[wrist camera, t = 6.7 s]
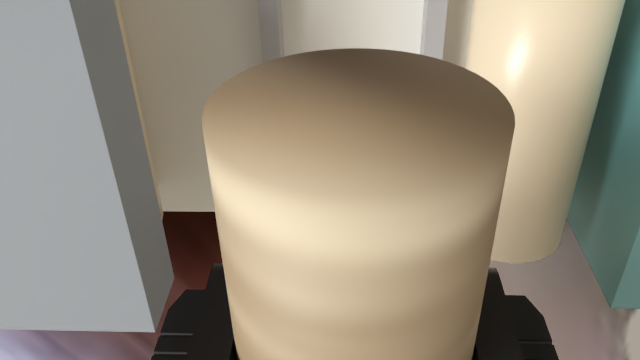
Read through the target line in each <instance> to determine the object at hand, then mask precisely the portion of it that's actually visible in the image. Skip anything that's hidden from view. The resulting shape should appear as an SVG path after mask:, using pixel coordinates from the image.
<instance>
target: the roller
mask: <svg viewBox="0 0 640 360" xmlns="http://www.w3.org/2000/svg"><path fill="white" fill-rule="evenodd" d="M202 129H203V135H204V142H205V148H206V155H207V162H208V168H209V175H210V182H211V188H212V195H213V202H214V208H215V215H216V222H217V228H218V235H219V241H220V248H221V255H222V261H223V268H224V275H225V281H226V288H227V295H228V301H229V308H230V315H231V321H232V328H233V334H234V341H235V348H236V354H237V360H472V356H473V351H474V346H475V340H476V335H477V329H478V324H479V318H480V313H481V308H482V302H483V297H484V291H485V286H486V280H487V275H488V270H489V264H490V259H491V253H492V248H493V243H494V237H495V232H496V226H497V221H498V215H499V210H500V205H501V199H502V194H503V188H504V183H505V177H506V172H507V167H508V161H509V156H510V150H511V145H512V140H513V134H514V129H515V114H514V112H513V109H512V106H511V104H510V103H509V101H508V100H507V98H506V97H505V95H504V94H503V93H502V92H501V91H500V90H499V89H498V88H497V87H495V86H494V85H493V84H492V83H490V82H489V81H488V80H486V79H484V78H483V77H481V76H479V75H478V74H476V73H474V72H472V71H470V70H468V69H466V68H463V67H461V66H458V65H456V64H453V63H450V62H447V61H444V60H440V59H437V58H433V57H429V56H425V55H420V54H415V53H409V52H403V51H395V50H385V49H370V48H346V49H329V50H318V51H311V52H304V53H299V54H294V55H289V56H285V57H281V58H277V59H273V60H270V61H267V62H264V63H261V64H259V65H256V66H254V67H251V68H249V69H247V70H245V71H243V72H241V73H239V74H237V75H235V76H234V77H232V78H231V79H229V80H227V81H226V82H225V83H224V84H222V85H221V86H220V87H219V88H218V89H217V90H216V91H215V92H214V93H213V94H212V95H211V96H210V98H209V99H208V101H207V103H206V105H205V107H204V110H203V114H202Z"/></svg>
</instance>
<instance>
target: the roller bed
mask: <svg viewBox="0 0 640 360" xmlns="http://www.w3.org/2000/svg"><path fill="white" fill-rule="evenodd" d="M114 1H115V6H116V11H117V15H118V20H119V24H120V29H121V34H122V38H123V43H124V48H125V52H126V57H127V61H128V66H129V71H130V75H131V80H132V85H133V89H134V94H135V98H136V103H137V108H138V112H139V117H140V121H141V126H142V131H143V135H144V140H145V145H146V149H147V154H148V158H149V163H150V168H151V172H152V177H153V182H154V186H155V191H156V195H157V200H158V205H159V209H160V214H161V218H162V219H163V211H188V212H215V208H214V202H213V195H212V188H211V182H210V175H209V168H208V162H207V155H206V148H205V142H204V135H203V129H202V114H203V110H204V107H205V105H206V103H207V101H208V99H209V98H210V96H211V95H212V94H213V93H214V92H215V91H216V90H217V89H218V88H219V87H220V86H221V85H222V84H224V83H225V82H226V81H227V80H229V79H231V78H232V77H234V76H235V75H237V74H239V73H241V72H243V71H245V70H247V69H249V68H251V67H254V66H256V65H259V64H261V63H264V62H267V61H270V60H273V59H277V58H281V57H285V56H289V55H294V54H299V53H304V52H311V51H318V50H329V49H346V48H370V49H385V50H395V51H403V52H409V53H415V54H420V55H425V56H429V57H433V58H437V59H440V60H444V61H447V62H450V63H453V64H456V65H458V66H461V67H463V68H466V69H468V70H470V71H472V72H474V73H476V74H478V75H479V76H481V77H483V78H484V79H486V80H488V81H489V82H490V83H492V84H493V85H494V86H495V87H497V88H498V89H499V90H500V91H501V92H502V93H503V94H504V95H505V97H506V98H507V100H508V101H509V103H510V104H511V106H512V109H513V112H514V114H515V129H514V134H513V140H512V145H511V150H510V156H509V161H508V167H507V172H506V177H505V183H504V188H503V194H502V199H501V205H500V210H499V215H498V221H497V226H496V232H495V237H494V243H493V248H492V253H491V259H490V260H494V261H498V262H505V263H528V262H533V261H538V260H540V259H543V258H545V257H547V256H549V255H551V254H552V253H553V252H554V251H555V250H556V249H557V248H558V246H559V245H560V242H561V238H562V235H563V231H564V227H565V223H566V220H568V222H569V224H570V226H571V228H572V230H573V232H574V234H575V236H576V238H577V240H578V242H579V245H580V247H581V249H582V251H583V253H584V255H585V257H586V259H587V261H588V263H589V265H590V267H591V269H592V271H593V273H594V275H595V277H596V279H597V281H598V283H599V285H600V287H601V289H602V291H603V294H604V296H605V298H606V300H607V302H608V304H609V306H610V308H629V309H640V0H114Z"/></svg>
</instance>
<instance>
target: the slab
mask: <svg viewBox="0 0 640 360" xmlns="http://www.w3.org/2000/svg"><path fill="white" fill-rule="evenodd" d="M173 280H174V274H173V269H172V265H171V260H170V255H169V251H168V246H167V242H166V237H165V232H164V228H163V223H162V218H161V214H160V209H159V205H158V200H157V195H156V191H155V186H154V182H153V177H152V172H151V168H150V163H149V158H148V154H147V149H146V145H145V140H144V135H143V131H142V126H141V121H140V117H139V112H138V108H137V103H136V98H135V94H134V89H133V85H132V80H131V75H130V71H129V66H128V61H127V57H126V52H125V48H124V43H123V38H122V34H121V29H120V24H119V20H118V15H117V11H116V6H115V1H114V0H0V329H13V330H67V331H120V332H155V331H156V329H157V326H158V323H159V320H160V317H161V314H162V312H163V309H164V306H165V303H166V300H167V297H168V294H169V292H170V289H171V286H172V283H173Z"/></svg>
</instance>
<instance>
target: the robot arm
mask: <svg viewBox="0 0 640 360" xmlns="http://www.w3.org/2000/svg"><path fill="white" fill-rule="evenodd" d="M151 360H237V354H236V348H235V341H234V334H233V328H232V321H231V315H230V308H229V301H228V295H227V288H226V281H225V275H224V268H223V264H222V263H215V264H213V266H212V268H211V272H210V275H209V279H208V282H207V286H206V289H205V290H185V291H184V292H183V293H182V295H181V296H180V297H179V298H178V299H177V300H176V301H175V303H174V304H173V305H172V306H171V307H170V308H169V309H168V312H167V315H166V318H165V321H164V324H163V327H162V330H161V336H160V337H159V338H158V341H157V344H156V347H155V350H154V356H152V359H151ZM472 360H559V359H558V356H557V353H556V350H555V348H554V345H552V339H551V336H550V334H549V331H548V328H547V325H546V322H545V320H544V317H543V315H542V314H541V313H540V312H539V311H538V310H537V309H536V308H535V307H534V305H533V304H532V303H531V302H530V301H529V300H528V299H527V298H526V296H515V295H505V294H504V290H503V287H502V283H501V280H500V277H499V274H498V271H497V269H496V268H489V270H488V275H487V280H486V286H485V291H484V297H483V302H482V308H481V313H480V318H479V324H478V329H477V335H476V340H475V346H474V351H473V356H472Z"/></svg>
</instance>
